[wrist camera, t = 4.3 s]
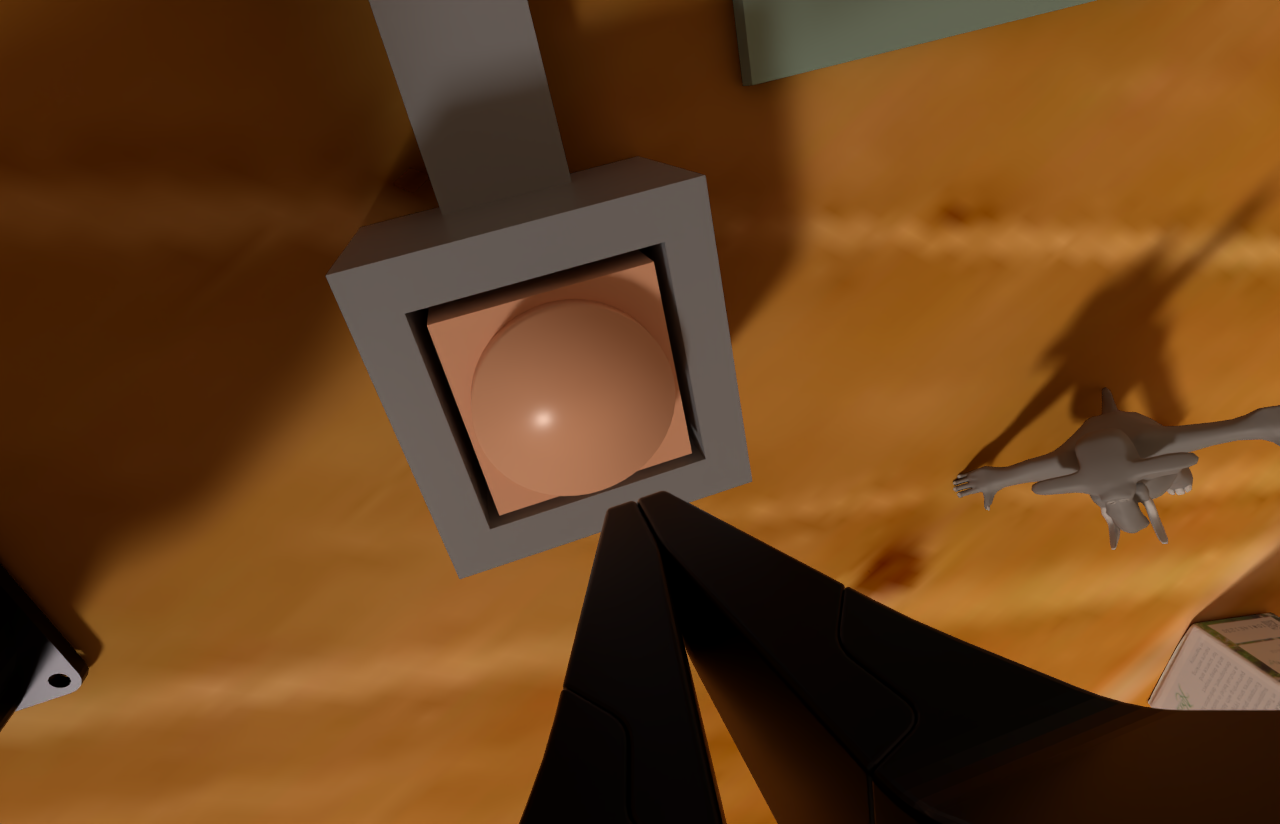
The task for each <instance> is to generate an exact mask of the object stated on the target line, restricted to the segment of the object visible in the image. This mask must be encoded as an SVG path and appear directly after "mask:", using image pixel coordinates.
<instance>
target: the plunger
mask: <svg viewBox="0 0 1280 824" xmlns="http://www.w3.org/2000/svg"><path fill="white" fill-rule="evenodd" d="M427 327H428V330H429V332H430V335H431V338H432V340H433V343H434V346H435V348H436V351H437V353H438V356H439V359H440V361H441V364H442V367H443V369H444V372H445V374H446V377H447V380H448V382H449V385H450V387H451V390H452V393H453V395H454V398H455V401H456V403H457V406H458V408H459V411H460V414H461V416H462V419H463V421H464V424H465V427H466V429H467V432H468V435H469V437H470V440H471V442H472V445H473V448H474V450H475V453H476V455H477V458H478V461H479V463H480V466H481V469H482V471H483V474H484V476H485V479H486V482H487V484H488V487H489V490H490V492H491V495H492V497H493V500H494V503H495V505H496V508H497V510H498V513H499V516H500V515H503V514H506V513H509V512H512V511H515V510H518V509H521V508H524V507H528V506H531V505H534V504H537V503H540V502H543V501H546V500H549V499H552V498H555V497H558V496H577V495H584V494H590V493H594V492H597V491H601V490H604V489H606V488H609V487H611V486H614V485H616V484H618V483H620V482H621V481H623V480H625V479H627V478H628V477H630V476H631V475H632V474H634V473H635V472H636V471H639V470H642V469H645V468H648V467H651V466H654V465H657V464H660V463H663V462H666V461H669V460H673V459H676V458H679V457H682V456H685V455H688V454H691V453H692V451H691V446H690V441H689V436H688V431H687V426H686V420H685V415H684V410H683V405H682V400H681V395H680V390H679V385H678V380H677V375H676V370H675V365H674V360H673V355H672V350H671V345H670V340H669V335H668V330H667V325H666V320H665V315H664V310H663V305H662V300H661V295H660V290H659V285H658V280H657V275H656V270H655V265H654V262H653V261H652V260H651V259H649V258H648V257H647V256H646V255H644V254H643V253H642V252H640V251H639V250H638V249H637V250H634V251H630V252H626V253H623V254H619V255H616V256H612V257H608V258H605V259H601V260H598V261H594V262H590V263H587V264H583V265H579V266H576V267H572V268H569V269H565V270H561V271H558V272H554V273H550V274H547V275H543V276H540V277H536V278H532V279H529V280H525V281H522V282H518V283H514V284H511V285H507V286H503V287H500V288H496V289H493V290H489V291H485V292H482V293H478V294H475V295H471V296H467V297H464V298H460V299H456V300H453V301H449V302H446V303H442V304H438V305H435V306H431V307H429V310H428V319H427Z"/></svg>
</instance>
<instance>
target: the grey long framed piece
mask: <svg viewBox="0 0 1280 824" xmlns="http://www.w3.org/2000/svg"><path fill="white" fill-rule="evenodd" d="M369 2H370V5H371V8H372V11H373V14H374V17H375V20H376V23H377V26H378V29H379V32H380V35H381V38H382V40H383V43H384V46H385V49H386V52H387V55H388V58H389V61H390V64H391V67H392V70H393V73H394V76H395V79H396V81H397V84H398V87H399V90H400V93H401V96H402V99H403V102H404V105H405V108H406V111H407V114H408V117H409V120H410V122H411V125H412V128H413V131H414V134H415V137H416V140H417V143H418V146H419V149H420V152H421V155H422V158H423V160H424V163H425V166H426V169H427V172H428V175H429V178H430V181H431V184H432V187H433V190H434V193H435V196H436V199H437V201H438V204H439V207H438V208H434V209H430V210H426V211H423V212H419V213H415V214H411V215H407V216H403V217H399V218H395V219H391V220H387V221H384V222H380V223H376V224H372V225H368V226H364V227H360V228H359V230H358V231H357V233H356V234H355V235H354V237H353V238H352V240H351V241H350V242H349V244H348V245H347V246H346V248H345V249H344V251H343V252H342V253H341V255H340V256H339V257H338V259H337V260H336V262H335V263H334V264H333V266H332V267H331V269H330V270H329V271H328V273H327V274H326V275H325V276H326V278H327V280H328V283H329V285H330V287H331V289H332V292H333V294H334V296H335V298H336V301H337V303H338V305H339V308H340V310H341V312H342V314H343V317H344V319H345V321H346V323H347V326H348V328H349V330H350V332H351V335H352V337H353V339H354V341H355V344H356V346H357V348H358V350H359V353H360V355H361V357H362V360H363V362H364V364H365V366H366V369H367V371H368V373H369V375H370V378H371V380H372V382H373V384H374V387H375V389H376V391H377V393H378V396H379V398H380V400H381V402H382V405H383V407H384V409H385V411H386V414H387V416H388V418H389V421H390V423H391V425H392V427H393V430H394V432H395V434H396V436H397V439H398V441H399V443H400V445H401V448H402V450H403V452H404V454H405V457H406V459H407V461H408V463H409V466H410V468H411V470H412V473H413V475H414V477H415V479H416V482H417V484H418V486H419V488H420V491H421V493H422V495H423V497H424V500H425V502H426V504H427V506H428V509H429V511H430V513H431V515H432V518H433V520H434V522H435V524H436V527H437V529H438V531H439V534H440V536H441V538H442V540H443V543H444V545H445V547H446V549H447V552H448V554H449V556H450V558H451V561H452V563H453V565H454V567H455V570H456V572H457V574H458V576H459V579H462V578H465V577H468V576H471V575H474V574H477V573H480V572H483V571H486V570H489V569H492V568H495V567H498V566H501V565H504V564H507V563H510V562H513V561H516V560H519V559H522V558H525V557H528V556H531V555H534V554H537V553H540V552H543V551H546V550H549V549H552V548H555V547H558V546H561V545H563V544H566V543H569V542H572V541H575V540H578V539H581V538H584V537H587V536H590V535H593V534H596V533H599V532H601V531H602V526H603V522H604V518H605V514H606V511H607V510H608V509H609V508H610V507H614V506H617V505H620V504H623V503H626V502H629V501H635V502H636V503H637V501H638V499H639V498H641V497H644V496H647V495H650V494H653V493H656V492H659V491H667V492H669V493H671V494H673V495H675V496H676V497H678V498H680V499H682V500H684V501H686V502H688V503H689V502H692V501H695V500H698V499H701V498H704V497H707V496H710V495H713V494H716V493H719V492H722V491H725V490H728V489H731V488H734V487H737V486H740V485H743V484H746V483H749V482H752V477H751V471H750V464H749V458H748V451H747V444H746V438H745V431H744V425H743V418H742V412H741V405H740V399H739V392H738V386H737V379H736V372H735V366H734V359H733V353H732V346H731V340H730V333H729V327H728V320H727V314H726V307H725V301H724V294H723V287H722V281H721V274H720V268H719V261H718V255H717V248H716V242H715V235H714V229H713V222H712V215H711V209H710V202H709V196H708V189H707V183H706V176H705V175H703V174H700V173H696V172H692V171H689V170H685V169H682V168H678V167H675V166H671V165H668V164H664V163H661V162H657V161H653V160H650V159H646V158H643V157H639V156H637V157H633V158H629V159H625V160H621V161H618V162H614V163H610V164H606V165H602V166H598V167H594V168H590V169H586V170H582V171H579V172H575V173H571V174H570V173H569V169H568V165H567V161H566V156H565V152H564V148H563V144H562V140H561V136H560V132H559V128H558V124H557V120H556V116H555V112H554V108H553V103H552V99H551V95H550V91H549V87H548V83H547V79H546V75H545V71H544V67H543V63H542V59H541V54H540V50H539V46H538V42H537V38H536V34H535V30H534V26H533V22H532V18H531V14H530V10H529V6H528V1H527V0H369ZM637 249H638V250H639V251H640V252H642V253H643V254H644V255H646V256H647V257H648V258H649V259H651V260H652V261H653V262H654V265H655V270H656V275H657V280H658V285H659V290H660V295H661V300H662V305H663V310H664V315H665V320H666V325H667V330H668V335H669V340H670V345H671V350H672V355H673V360H674V365H675V370H676V375H677V380H678V385H679V390H680V395H681V400H682V405H683V410H684V415H685V420H686V426H687V431H688V436H689V441H690V446H691V451H692V453H691V454H688V455H685V456H682V457H679V458H676V459H673V460H669V461H666V462H663V463H660V464H657V465H654V466H651V467H648V468H645V469H642V470H639V471H636V472H635V473H634V474H632V475H631V476H630V477H628V478H627V479H625V480H623V481H621V482H620V483H618V484H616V485H614V486H611V487H609V488H606V489H604V490H601V491H597V492H594V493H590V494H584V495H577V496H558V497H555V498H552V499H549V500H546V501H543V502H540V503H537V504H534V505H531V506H528V507H524V508H521V509H518V510H515V511H512V512H509V513H506V514H503V515H500V516H499V513H498V510H497V508H496V505H495V503H494V500H493V497H492V495H491V492H490V490H489V487H488V484H487V482H486V479H485V476H484V474H483V471H482V469H481V466H480V463H479V461H478V458H477V455H476V453H475V450H474V448H473V445H472V442H471V440H470V437H469V435H468V432H467V429H466V427H465V424H464V421H463V419H462V416H461V414H460V411H459V408H458V406H457V403H456V401H455V398H454V395H453V393H452V390H451V387H450V385H449V382H448V380H447V377H446V374H445V372H444V369H443V367H442V364H441V361H440V359H439V356H438V353H437V351H436V348H435V346H434V343H433V340H432V338H431V335H430V332H429V330H428V327H427V319H428V310H429V307H431V306H435V305H438V304H442V303H446V302H449V301H453V300H456V299H460V298H464V297H467V296H471V295H475V294H478V293H482V292H485V291H489V290H493V289H496V288H500V287H503V286H507V285H511V284H514V283H518V282H522V281H525V280H529V279H532V278H536V277H540V276H543V275H547V274H550V273H554V272H558V271H561V270H565V269H569V268H572V267H576V266H579V265H583V264H587V263H590V262H594V261H598V260H601V259H605V258H608V257H612V256H616V255H619V254H623V253H626V252H630V251H634V250H637Z"/></svg>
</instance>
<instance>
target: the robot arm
mask: <svg viewBox="0 0 1280 824" xmlns="http://www.w3.org/2000/svg"><path fill="white" fill-rule="evenodd" d="M685 648H686V650H687V653H688V655H689V657H690V659H691V661H692V663H693V665H694V667H695V669H696V671H697V673H698V675H699V677H700V678H701V680H702V682H703V684H704V686H705V688H706V690H707V692H708V693H709V695H710V697H711V699H712V701H713V703H714V705H715V707H716V708H717V710H718V712H719V714H720V716H721V718H722V720H723V722H724V723H725V725H726V727H727V729H728V731H729V733H730V735H731V737H732V738H733V740H734V742H735V744H736V746H737V748H738V750H739V752H740V753H741V755H742V757H743V759H744V761H745V763H746V765H747V767H748V768H749V770H750V772H751V774H752V776H753V778H754V780H755V782H756V784H757V785H758V787H759V789H760V791H761V793H762V795H763V797H764V799H765V800H766V802H767V804H768V806H769V808H770V810H771V812H772V814H773V815H774V817H775V819H776V821H777V823H778V824H1280V710H1169V709H1159V708H1150V707H1144V706H1139V705H1134V704H1129V703H1124V702H1121V701H1117V700H1114V699H1110V698H1107V697H1104V696H1100V695H1097V694H1095V693H1092V692H1089V691H1087V690H1084V689H1081V688H1078V687H1076V686H1073V685H1071V684H1068V683H1066V682H1064V681H1061V680H1059V679H1056V678H1054V677H1051V676H1049V675H1046V674H1044V673H1041V672H1039V671H1036V670H1034V669H1032V668H1029V667H1027V666H1024V665H1022V664H1019V663H1017V662H1014V661H1012V660H1009V659H1007V658H1004V657H1002V656H1000V655H997V654H995V653H992V652H990V651H987V650H985V649H982V648H980V647H977V646H975V645H972V644H970V643H967V642H965V641H963V640H960V639H958V638H955V637H953V636H951V635H948V634H946V633H944V632H942V631H939V630H937V629H935V628H932V627H930V626H928V625H925V624H923V623H921V622H918V621H916V620H914V619H912V618H910V617H908V616H905V615H903V614H901V613H899V612H897V611H895V610H893V609H891V608H889V607H887V606H885V605H883V604H881V603H879V602H877V601H875V600H873V599H871V598H869V597H867V596H865V595H863V594H861V593H860V592H858V591H856V590H854V589H852V588H850V587H846V588H845V586H844V585H843V584H842V583H840V582H838V581H836V580H834V579H832V578H831V577H829V576H827V575H825V574H823V573H821V572H819V571H817V570H815V569H813V568H812V567H810V566H808V565H806V564H804V563H802V562H800V561H798V560H796V559H794V558H792V557H791V556H789V555H787V554H785V553H783V552H781V551H779V550H777V549H775V548H773V547H772V546H770V545H768V544H766V543H764V542H762V541H760V540H758V539H756V538H754V537H753V536H751V535H749V534H747V533H745V532H743V531H741V530H739V529H737V528H735V527H734V526H732V525H730V524H728V523H726V522H724V521H722V520H720V519H718V518H716V517H714V516H713V515H711V514H709V513H707V512H705V511H703V510H701V509H699V508H697V507H695V506H694V505H692V504H690V503H688V502H686V501H684V500H682V499H680V498H678V497H676V496H675V495H673V494H671V493H669V492H667V491H659V492H656V493H653V494H650V495H647V496H644V497H641V498H639V499H638V501H637V503H636V502H635V501H629V502H626V503H623V504H620V505H617V506H614V507H610V508H609V509H608V510H607V511H606V514H605V518H604V522H603V526H602V531H601V535H600V539H599V543H598V547H597V551H596V555H595V559H594V563H593V567H592V571H591V575H590V579H589V583H588V587H587V591H586V595H585V599H584V603H583V607H582V611H581V615H580V619H579V623H578V627H577V631H576V635H575V639H574V643H573V647H572V651H571V655H570V659H569V663H568V667H567V671H566V676H565V680H564V684H563V689H564V690H562V691H561V694H560V698H559V702H558V707H557V711H556V715H555V719H554V722H553V726H552V729H551V732H550V736H549V739H548V743H547V746H546V750H545V753H544V757H543V760H542V763H541V766H540V768H539V771H538V774H537V777H536V779H535V782H534V785H533V788H532V791H531V793H530V796H529V799H528V802H527V804H526V807H525V810H524V812H523V815H522V817H521V820H520V822H519V824H727V823H726V819H725V814H724V810H723V806H722V802H721V797H720V793H719V789H718V785H717V780H716V776H715V772H714V768H713V763H712V759H711V755H710V751H709V746H708V742H707V738H706V734H705V729H704V725H703V721H702V717H701V712H700V708H699V704H698V700H697V695H696V691H695V687H694V683H693V678H692V674H691V670H690V666H689V662H688V658H687V654H686V650H685ZM88 670H89V668H88V666H87V664H86V663H85V662H84V660H83V659H82V658H81V657H80V656H79V655H78V653H77V652H76V651H75V650H74V649H73V648H72V647H71V645H70V644H69V643H68V642H67V641H66V640H65V638H64V637H63V636H62V635H61V634H60V633H59V631H58V630H57V629H56V628H55V627H54V626H53V625H52V623H51V622H50V621H49V620H48V619H47V618H46V616H45V615H44V614H43V613H42V612H41V611H40V609H39V608H38V607H37V606H36V605H35V604H34V602H33V601H32V600H31V599H30V598H29V597H28V596H27V594H26V593H25V592H24V591H23V590H22V589H21V587H20V586H19V585H18V584H17V583H16V582H15V580H14V579H13V578H12V577H11V576H10V575H9V574H8V572H7V571H6V570H5V569H4V568H3V567H2V565H1V564H0V732H1V730H2V729H3V727H4V726H5V725H6V723H7V722H8V720H9V719H10V718H11V716H12V715H13V713H14V712H15V711H18V710H21V709H24V708H27V707H30V706H33V705H36V704H39V703H42V702H45V701H48V700H51V699H54V698H57V697H60V696H63V695H66V694H69V693H72V692H74V691H76V690H77V689H78V688H79V687H80V686H81V684H82V683H83V681H84V680H85V678H86V676H87V675H88ZM59 674H64V675H67V676H68V677H65V676H61V675H59Z"/></svg>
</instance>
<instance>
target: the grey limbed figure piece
mask: <svg viewBox="0 0 1280 824" xmlns="http://www.w3.org/2000/svg"><path fill="white" fill-rule="evenodd" d="M1254 439H1263V440H1267V441H1271V442H1274V443H1276V444H1277V445H1279V446H1280V405H1278V406H1271V407H1264V408H1259V409H1257V410H1254V411H1252V412H1250V413H1248V414H1246V415H1244V416H1241V417H1238V418H1235V419H1231V420H1225V421H1218V422H1211V423H1201V424H1191V425H1182V426H1162V425H1161V424H1159V423H1157V422H1156V421H1154V420H1152V419H1151V418H1148V417H1146V416H1144V415H1141V414H1139V413H1136V412H1124V411H1120V410H1118V409H1117V407H1116V405H1115V402H1114V399H1113V396H1112V394H1111V392H1110V390H1109V389H1107V388H1103V389H1102V415H1099V416H1095V417H1091V418H1089V419H1088V420H1086V421H1085V422H1084V423H1083V425H1082V426H1081V427H1080V428H1079V429H1078V430H1077V431H1076V432H1075V433H1074V434H1073V435H1072V436H1071V437H1070V438H1069V439H1068V440H1067V441H1066V442H1065V443H1064V444H1063V445H1061V446H1060V447H1059V448H1057V449H1056V450H1055V451H1053V452H1050V453H1048V454H1046V455H1043V456H1039V457H1036V458H1032V459H1028V460H1025V461H1023V462H1020V463H1017V464H1014V465H1012V466H1009V467H990V466H984V467H981V468H978V469H975V470H973V471H970V472H968V473H965V474H959V475H958V476H957V478H959V479H960V480H956V481H953V484H954V485H958V484H961V483H964V482H968V483H966V484H962V485H959V486H956V487H954V488H953V490H954V491H955V492H957V491H960V490H963V489H967V488H971V489H967V490H964V491H961V492H958V493H957V495H958V497H960V498H961V497H963V496H966V495H969V494H973V493H978V492H983V495H984V507H985V509H987V510H990V505H991V504H992V501H993V498H994V495H995V494H996V493H997V491H999V490H1000V489H1002V488H1004V487H1007V486H1011V485H1016V484H1021V483H1028V482H1036V481H1039V482H1037V483H1035V484H1034V485H1032V491H1033V492H1034V493H1036V494H1040V495H1051V494H1064V493H1075V492H1076V493H1086V494H1090V496H1091V498H1092V500H1093V501H1094V502H1095V503H1096V504H1097V505H1098V506H1100V507H1101V512H1102V515H1103V517H1104V518H1105V519H1106V521H1107V523H1108V525H1109V535H1110V545H1111V548H1112V549H1116V546H1117V543H1118V540H1119V536H1120V529H1121V530H1123V531H1125V532H1128V533H1136V532H1138V531H1140V530H1141V529H1143V528H1145V527H1147V526H1148V525H1149V521H1148V519H1147V518H1146V517H1145V516H1144V515H1143V514H1142V512H1141V510H1140V508H1139V506H1138V502H1141V503H1143V505H1144V506H1145V508H1146V510H1147V513H1148V516H1149V518H1150V521H1151V524H1152V526H1153V528H1154V531H1155V533H1156V535H1157V537H1158V539H1159V540H1160V541H1161V542H1162V543H1163V544H1167V543H1168V538H1167V535H1166V533H1165V530H1164V527H1163V525H1162V523H1161V520H1160V518H1159V515H1158V512H1157V510H1156V507H1155V504H1154V502H1153V500H1152V499H1154V498H1157V497H1159V496H1161V495H1163V494H1164V493H1165V492H1166V491H1167V492H1168V493H1169V494H1172V495H1175V492H1176V494H1177V495H1182V494H1185V491H1186V492H1189V491H1190V490H1192V482H1193V477H1192V474H1191V471H1190V469H1189V467H1190V466H1192V465H1195V464H1197V461H1198V457H1197V456H1196V455H1195V454H1194V453H1188V452H1191V451H1195V450H1198V449H1202V448H1205V447H1209V446H1212V445H1217V444H1221V443H1226V442H1231V441H1236V440H1254ZM965 477H966V478H965ZM962 478H963V479H962ZM1184 489H1185V490H1184ZM1174 491H1175V492H1174Z"/></svg>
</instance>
